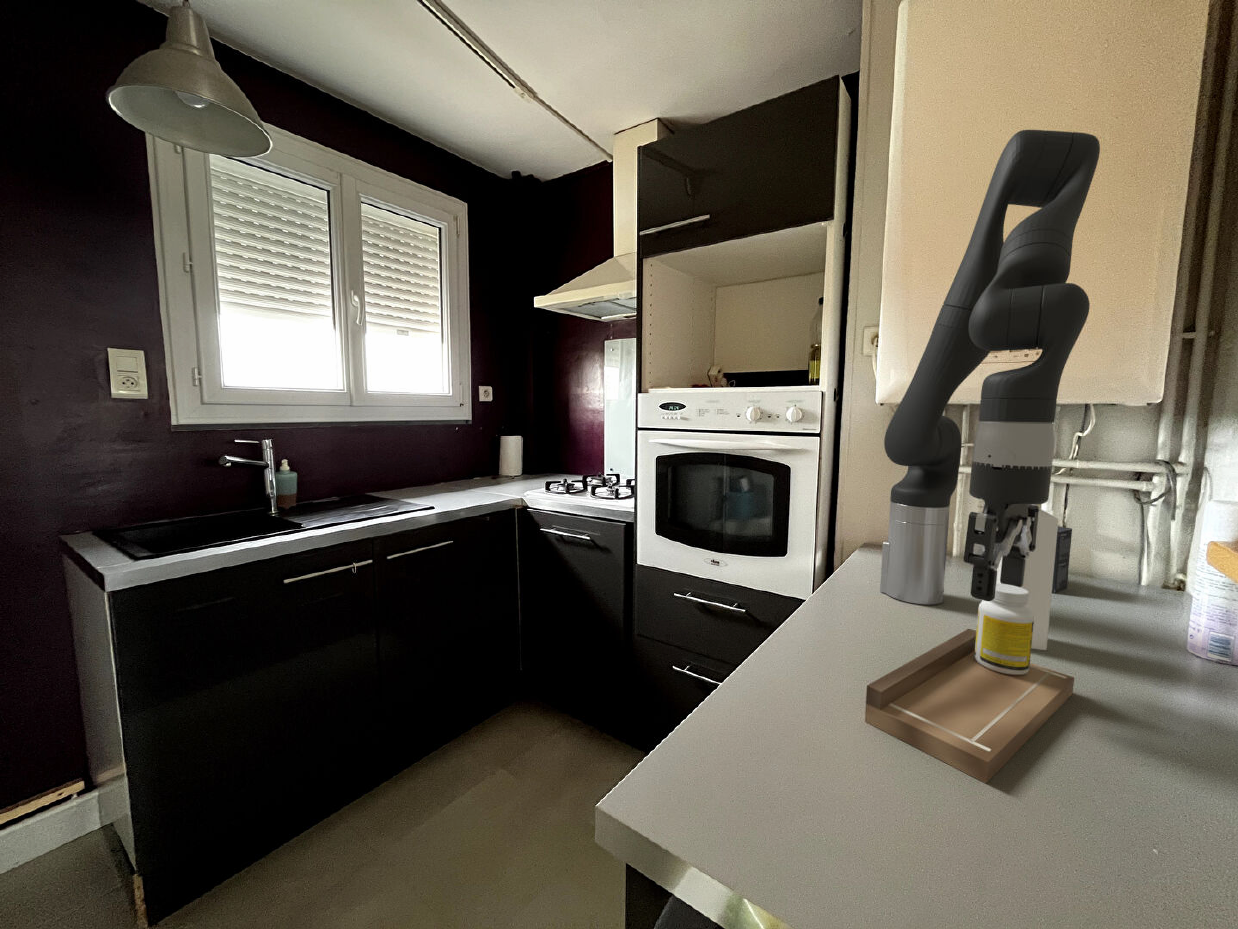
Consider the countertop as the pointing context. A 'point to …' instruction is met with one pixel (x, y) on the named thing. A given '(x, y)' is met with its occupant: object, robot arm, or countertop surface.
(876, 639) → the countertop surface
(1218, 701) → the countertop surface
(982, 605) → the supplement bottle
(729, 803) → the countertop surface
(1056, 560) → the small box
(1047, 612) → the milk
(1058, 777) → the countertop surface
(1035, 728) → the board
